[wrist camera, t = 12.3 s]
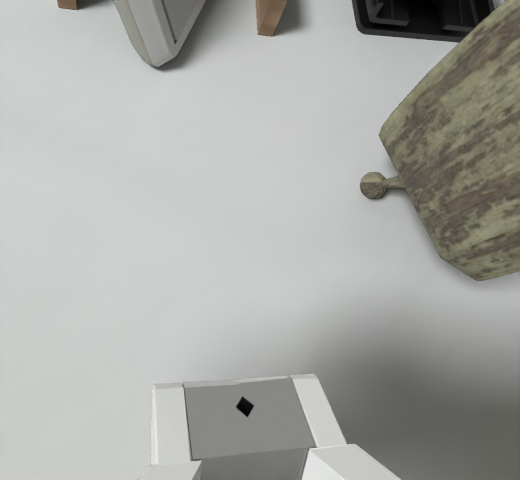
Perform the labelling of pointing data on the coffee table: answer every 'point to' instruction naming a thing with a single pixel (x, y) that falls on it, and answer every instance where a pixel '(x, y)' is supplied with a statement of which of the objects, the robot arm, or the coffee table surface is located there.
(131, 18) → the digital clock
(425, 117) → the tabletop clock
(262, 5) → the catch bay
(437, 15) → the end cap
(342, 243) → the coffee table surface
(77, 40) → the coffee table surface
